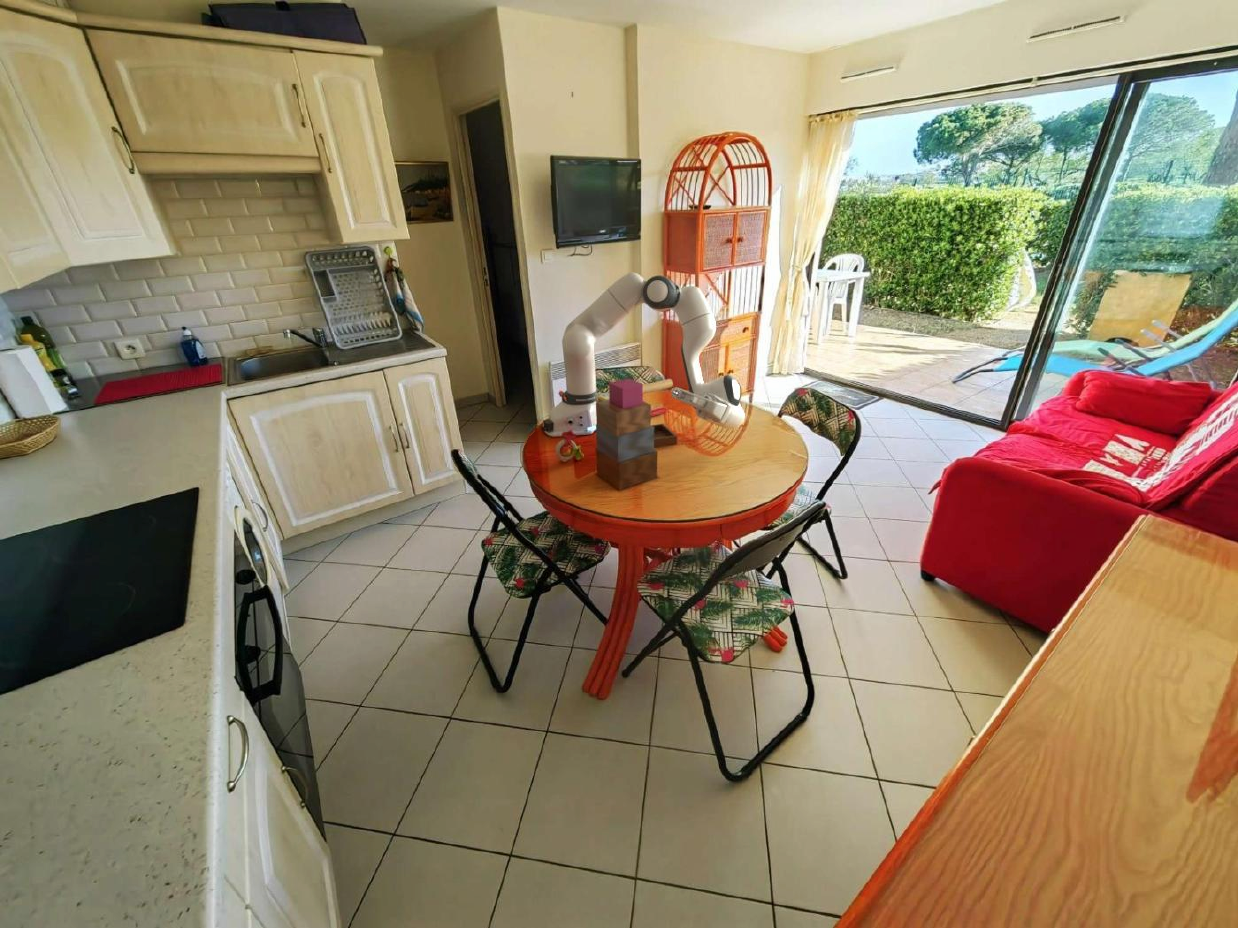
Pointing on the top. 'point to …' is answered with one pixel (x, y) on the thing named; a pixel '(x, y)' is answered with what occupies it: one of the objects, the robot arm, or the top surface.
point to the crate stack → (625, 444)
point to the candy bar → (658, 410)
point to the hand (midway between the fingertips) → (682, 394)
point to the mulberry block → (633, 391)
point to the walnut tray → (663, 436)
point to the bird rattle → (564, 449)
